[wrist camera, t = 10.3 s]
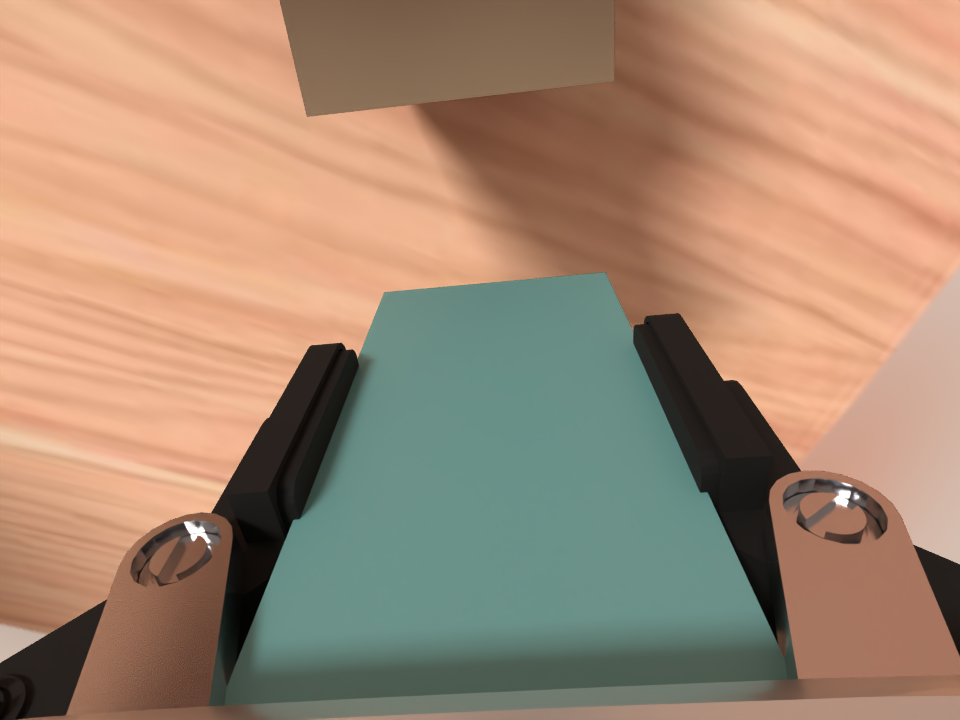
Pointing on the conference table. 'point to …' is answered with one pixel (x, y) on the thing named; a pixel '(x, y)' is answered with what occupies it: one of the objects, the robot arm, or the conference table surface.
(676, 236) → the conference table surface
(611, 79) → the domino
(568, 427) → the teal domino
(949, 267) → the conference table surface
